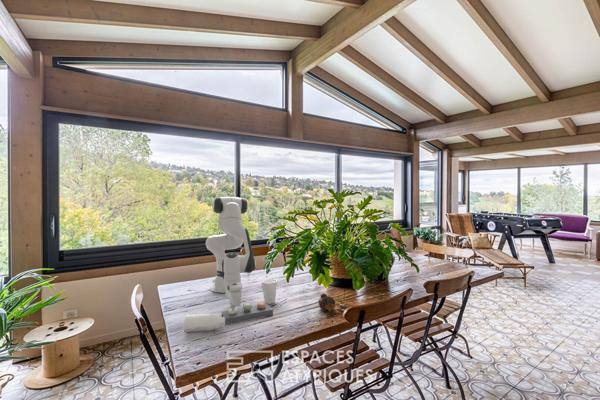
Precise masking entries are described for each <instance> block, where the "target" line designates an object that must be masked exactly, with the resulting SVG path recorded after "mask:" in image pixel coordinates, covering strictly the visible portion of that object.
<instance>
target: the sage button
mask: <svg viewBox="0 0 600 400" xmlns="http://www.w3.org/2000/svg"><path fill="white" fill-rule="evenodd" d="M252 306H253V304H252V303H251V302H246V303H243V305H242V308H243V309H244V310H245V312H249V311H250V309H251V308H252Z"/></svg>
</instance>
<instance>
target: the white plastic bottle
mask: <svg viewBox="0 0 600 400" xmlns="http://www.w3.org/2000/svg"><path fill="white" fill-rule="evenodd" d="M224 326H225V317H223V318H222V316H220V315H219V314H216V313H196V314H185V316H184V321H183V329H184V332H185V333H191V332H192V333H193V332H206V331H207V332H212V331H214V330H217V329H218V328H220V327H221V328H224Z"/></svg>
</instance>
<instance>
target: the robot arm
mask: <svg viewBox="0 0 600 400" xmlns="http://www.w3.org/2000/svg"><path fill="white" fill-rule="evenodd" d="M248 204H249V203H248V201H247V199H246V198H245V197H236V196H222V197H221V196H217V197H215V198H213V201H212V204H211V205H212V206H211V207H212V210H213V212H214V213H216V214H218V223H217V227H218V229H219V230H220V231H221V232H224V234H223V233H222V234H214V235H210V236H208V237H207V238H206V240H205V247H206V248H207V250H208V251H210V253H212V254H213V255H214V257H215V259H216V261H215V262H216V272H215V273H216V274H215V278H214V279H212V285H211V292H213V293H222V294H223V293H225V296H226V297H227V299H228V300H229V304H230V305H229V306H230V307H229V308H231V309H232V310H235V308H237V307H240V306H241V303H242V302H241V301H242V290H243V285H242V280H241V279H242V276H241V273H244V274H247V273H248V274H250V273H252V272H253V271H255V269H256V265H257V262H256V258H255V256H254V253H253V248H252V241H251V237H250V234H249V230H248V228H247V227H245V226H244V225H243V222H242V220H243V217H242V215H243V214H245V213H246V212H247V211H248V208H249V205H248ZM242 245H243V246H244V251H245V254H239V253H238V252H236V251H231V252H227V253H226V252H225V251H227V250H236V249H238V248H241V247H242Z"/></svg>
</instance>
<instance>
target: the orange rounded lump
mask: <svg viewBox="0 0 600 400" xmlns="http://www.w3.org/2000/svg"><path fill="white" fill-rule="evenodd" d="M265 304H266V303H265V301H264V302H262V301H261V302H257V304H256V305H257V308H258V309H264V308H265V307H266V306H265Z"/></svg>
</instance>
